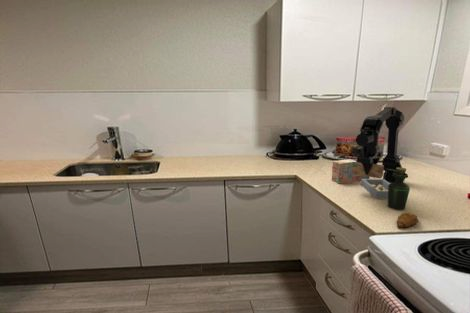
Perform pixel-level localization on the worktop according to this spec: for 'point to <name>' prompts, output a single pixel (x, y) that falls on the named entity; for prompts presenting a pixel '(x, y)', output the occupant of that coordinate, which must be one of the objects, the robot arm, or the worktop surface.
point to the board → (374, 172)
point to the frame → (371, 187)
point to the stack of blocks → (345, 172)
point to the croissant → (406, 220)
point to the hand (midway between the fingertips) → (368, 173)
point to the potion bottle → (398, 190)
